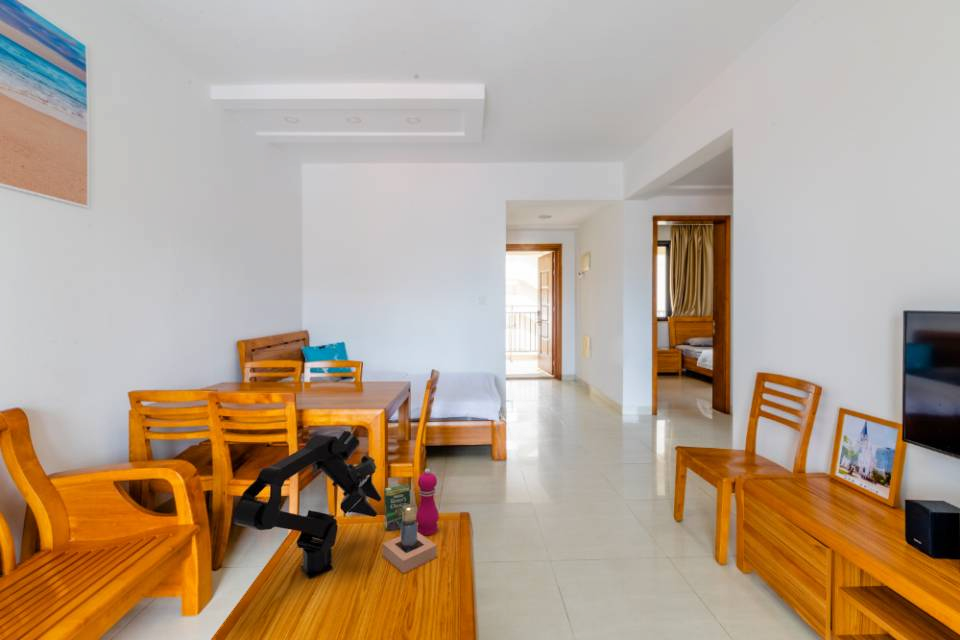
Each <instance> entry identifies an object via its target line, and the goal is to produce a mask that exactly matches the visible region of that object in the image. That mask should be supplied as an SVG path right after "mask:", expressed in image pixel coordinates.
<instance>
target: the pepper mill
mask: <svg viewBox="0 0 960 640" xmlns="http://www.w3.org/2000/svg"><path fill="white" fill-rule="evenodd" d="M437 483H438V479H437V476H436V475H435V474H434V473H432V472H431V469H429V468H425V470H424V473H422V474H421V475H419V477H418V479H417V486H418V487H419V489H418V490H419V495H420V505H419V506H418V509H417V511H416V513H415V520H416V521H417V532H418V533H420V534H421V535H423V536H432V535H434V534H436V533H437V531H438V523H437V522H438V521H439V518H440V515H439V511H438V508H437V506H436V503H435V498H434V497H435V494H436V486H437Z"/></svg>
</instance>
